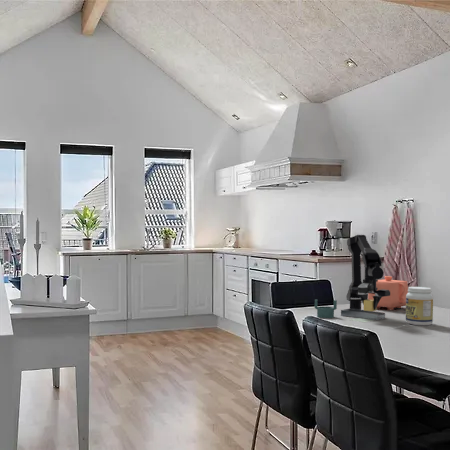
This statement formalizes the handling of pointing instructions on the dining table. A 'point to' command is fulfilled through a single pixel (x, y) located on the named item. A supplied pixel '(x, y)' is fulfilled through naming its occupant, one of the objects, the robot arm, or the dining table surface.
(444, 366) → the dining table surface
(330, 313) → the bracket
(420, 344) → the dining table surface
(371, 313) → the rail
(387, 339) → the dining table surface
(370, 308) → the block
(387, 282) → the teapot
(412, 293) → the supplement tub
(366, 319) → the pad
